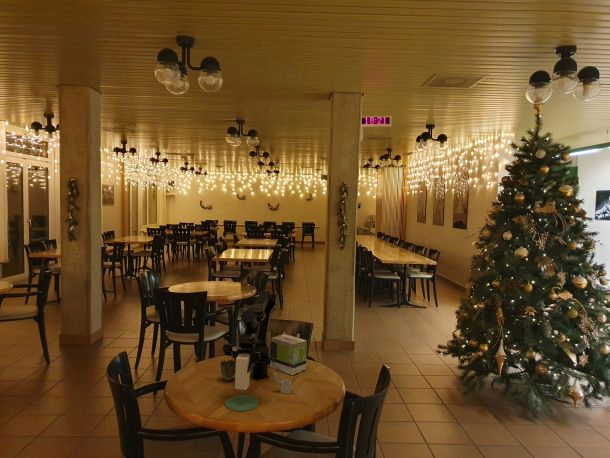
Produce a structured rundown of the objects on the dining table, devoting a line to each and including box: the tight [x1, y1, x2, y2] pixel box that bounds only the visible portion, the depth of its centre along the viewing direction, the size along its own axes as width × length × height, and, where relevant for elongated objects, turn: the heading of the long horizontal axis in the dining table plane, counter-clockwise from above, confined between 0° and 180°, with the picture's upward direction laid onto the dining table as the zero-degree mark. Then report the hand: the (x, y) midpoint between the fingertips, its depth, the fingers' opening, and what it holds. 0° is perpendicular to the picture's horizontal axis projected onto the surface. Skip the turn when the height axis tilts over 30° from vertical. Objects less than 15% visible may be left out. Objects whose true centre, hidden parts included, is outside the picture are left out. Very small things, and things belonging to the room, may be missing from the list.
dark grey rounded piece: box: [219, 358, 236, 382], centre depth 190 cm, size 8×7×8 cm
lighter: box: [273, 372, 292, 394], centre depth 180 cm, size 7×2×8 cm, turn 86°
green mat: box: [224, 394, 260, 412], centre depth 168 cm, size 13×13×1 cm
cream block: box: [234, 354, 251, 391], centre depth 167 cm, size 4×4×12 cm
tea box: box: [269, 333, 308, 376], centre depth 206 cm, size 15×10×15 cm, turn 49°
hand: (241, 371), depth 166 cm, fingers closed on cream block, 4 cm apart
